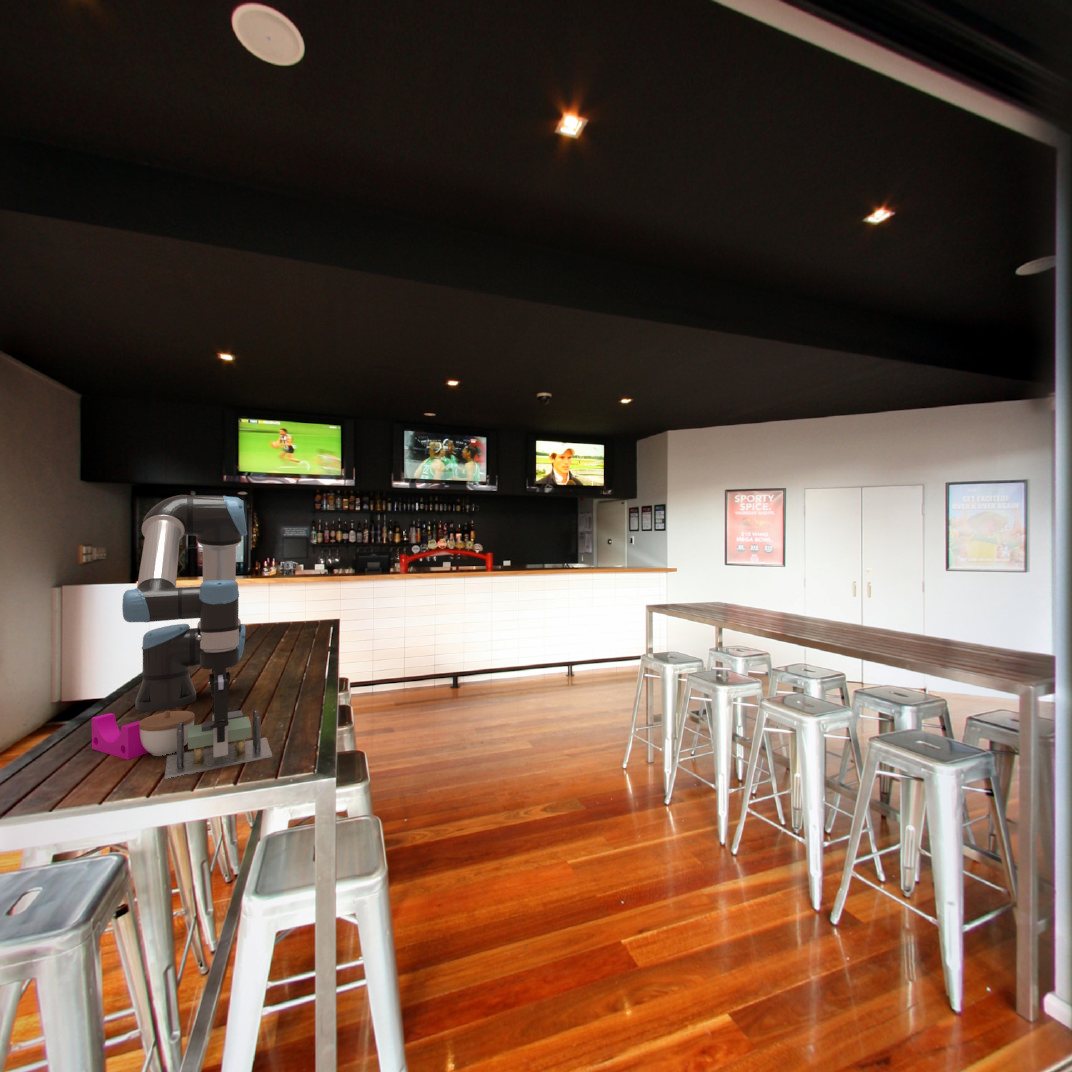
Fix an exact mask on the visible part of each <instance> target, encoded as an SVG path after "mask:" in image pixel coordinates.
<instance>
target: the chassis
mask: <svg viewBox="0 0 1072 1072" xmlns="http://www.w3.org/2000/svg"><path fill="white" fill-rule="evenodd" d="M261 717H262V716H260V715H259V710H258V709H254V710H252V739H251V740H246V739H242V740H236V741H234V742H233V743H228V755H225V756H219V757H213V747H209V748H205V746H204V747H199V748H193V750H192V751H186V752H185V746H184V722H179V723H177V752H176V753H174V754H169V755H166V763H165V764H166V765H165V771H164V780H168V778H169V779H172V778H171V777H174V778H178V777H177V776H179V777H182V776H181V775H183V776H185V775H184V774H188V775H192V774H197V773H196V772H198V773H202V772H207V771H211V770H216V769H220V768H221V769H222V768H226V767H231V766H235V765H240V764H244V763H249V762H253V761H259V760H265V759H269V758H272V757H273V753H272V752H273V751H271V748H270V743H269V742H268V738H267V737H262V734H261V733H262V731H261V729H262V728H261V721H262V720H261ZM261 737H262V738H261Z"/></svg>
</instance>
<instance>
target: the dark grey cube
mask: <svg viewBox="0 0 1072 1072" xmlns="http://www.w3.org/2000/svg"><path fill="white" fill-rule="evenodd" d="M242 711H243V710H234V711H228V720H230V719H236V718H242V717H244V715H243V712H242Z"/></svg>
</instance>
